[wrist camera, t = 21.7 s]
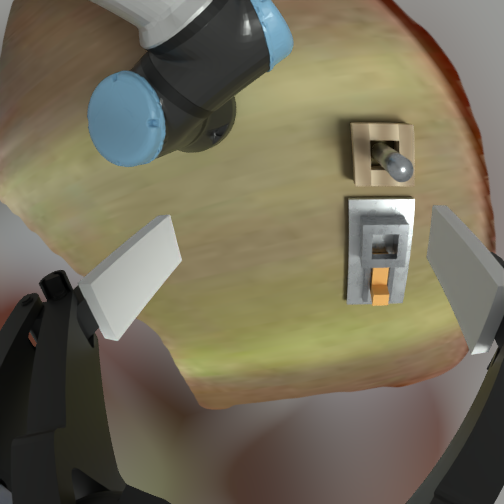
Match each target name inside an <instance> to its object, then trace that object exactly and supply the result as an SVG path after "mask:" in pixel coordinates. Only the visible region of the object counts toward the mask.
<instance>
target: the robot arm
mask: <svg viewBox="0 0 504 504" xmlns="http://www.w3.org/2000/svg"><path fill="white" fill-rule="evenodd" d="M89 1H91V2H93V3H95V4H97V5H99V6H101V7H103V8H105V9H107V10H108V11H110V12H112V13H114V14H116V15H117V16H119V17H121V18H123V19H124V20H126V21H128V22H130V23H131V24H133V25H135V26H136V27H137V28H138V30H139V40H140V46H142V47H143V48H144V49H146V50H147V51H148V52H147V53H146V54H145V55H144V56H143V57H142V58H141V59H140V60H139V61H138V62H137V63H136V64H135V65H134V67H133V68H132V69H131V70H130V71H120V72H118V73H115V74H112V75H110V76H108V77H106V78H105V79H104V80H102V81H101V82H100V83H99V84H98V86H97V87H96V89H95V90H94V92H93V94H92V96H91V99H90V102H89V106H88V114H87V118H88V121H89V126H88V129H89V133H90V136H91V139H92V141H93V143H94V145H95V147H96V149H97V150H98V151H99V153H100V154H101V155H102V156H103V157H104V158H105V159H106V160H108V161H109V162H111V163H113V164H115V165H118V166H125V167H133V166H137V165H142V164H146V163H150V162H151V161H153V160H154V159H156V158H159V157H161V156H163V155H166V154H168V153H171V152H173V151H176V150H179V151H182V152H200V151H204V150H207V149H209V148H211V147H214V146H215V145H217V144H218V143H220V142H221V141H222V140H223V139H224V138H225V137H226V136H227V135H228V133H229V132H230V130H231V128H232V126H233V124H234V121H235V117H236V102H235V97H234V96H235V95H236V94H237V93H239V92H240V91H241V90H243V89H244V88H245V87H246V86H248V85H249V84H250V83H252V82H253V81H254V80H256V79H257V78H259V77H260V76H261V75H263V74H264V73H265V72H269V71H271V70H272V69H273V67H274V66H275V65H276V64H277V63H279V62H280V61H281V60H283V59H284V58H285V57H287V56H288V55H289V54H290V53H291V51H292V48H293V43H294V42H293V37H292V34H291V32H290V29H289V27H288V25H287V24H286V22H285V20H284V18H283V17H282V15H281V14H280V12H279V11H278V9H277V8H276V6H275V5H274V4H273V2H272V1H271V0H89ZM427 259H428V261H429V263H430V265H431V267H432V269H433V270H434V272H435V274H436V276H437V278H438V280H439V282H440V284H441V286H442V288H443V290H444V292H445V294H446V296H447V298H448V301H449V303H450V305H451V307H452V309H453V311H454V314H455V316H456V318H457V320H458V323H459V325H460V327H461V330H462V332H463V335H464V337H465V340H466V342H467V345H468V347H469V350H470V353H471V354H478V353H484V352H488V351H489V349H490V347H491V345H492V343H493V341H494V339H495V340H496V343H497V345H498V348H497V350H496V352H495V354H494V356H493V358H492V360H491V362H490V364H489V366H488V367H487V370H488V372H487V374H486V376H485V379H484V381H483V383H482V385H481V387H480V390H479V392H478V394H477V396H476V398H475V400H474V402H473V404H472V406H471V408H470V410H469V412H468V413H467V415H466V417H465V419H464V421H463V423H462V424H461V426H460V428H459V430H458V431H457V433H456V435H455V436H454V438H453V440H452V441H451V443H450V444H449V446H448V448H447V449H446V451H445V453H444V454H443V455H442V457H441V458H440V460H439V461H438V463H437V464H436V466H435V467H434V468H433V470H432V471H431V472H430V474H429V475H428V476H427V478H426V479H425V480H424V482H423V483H422V484H421V485H420V487H419V488H418V489H417V490H416V492H415V493H414V494H413V496H412V497H411V498H410V499H409V500H408V501H407V503H406V504H494V502H495V501H496V499H497V497H498V495H499V493H500V491H501V490H502V488H503V486H504V261H503V260H502V259H501V258H500V257H499V256H497V255H496V254H494V253H493V252H489V250H488V249H487V248H486V247H485V246H484V245H483V244H482V242H481V241H480V240H479V239H478V238H477V237H476V236H475V235H474V234H473V232H472V231H471V230H470V229H469V228H468V227H467V226H466V225H465V224H464V223H463V222H462V221H461V220H460V219H459V218H458V217H457V216H456V215H455V214H454V213H453V212H452V211H451V210H450V209H449V208H448V207H447V206H438V205H433V208H432V219H431V228H430V236H429V244H428V251H427ZM181 261H182V259H181V255H180V251H179V248H178V244H177V240H176V236H175V232H174V228H173V224H172V220H171V216H170V215H160V216H157V217H156V218H155V219H153V220H152V221H151V222H149V223H148V224H147V225H146V226H144V227H143V228H142V229H141V230H139V231H138V232H137V233H136V234H134V235H133V236H132V237H131V238H129V239H128V240H127V241H126V242H125V243H123V244H122V245H121V246H120V247H119V248H117V249H116V250H115V251H114V252H113V253H111V254H110V255H109V256H108V257H107V258H106V259H104V260H103V261H102V262H101V263H100V264H99V265H98V266H96V267H95V268H94V269H93V270H92V271H91V272H90V273H88V274H87V275H86V276H85V277H84V278H83V279H82V280H81V281H80V282H79V283H78V286H77V287H76V288H75V289H74V290H73V288H72V286H71V284H70V282H69V279H68V277H67V275H66V273H65V271H64V270H58V271H54V272H52V273H50V274H48V275H47V276H45V277H44V278H43V279H42V280H41V281H40V283H39V285H40V287H41V289H42V291H43V293H44V295H45V297H46V299H47V302H42V301H41V300H40V297H39V295H38V294H37V293H32V294H27V295H26V296H24V297H23V298H22V299H21V300H20V301H19V302H18V303H17V305H16V306H15V308H14V310H13V311H12V313H11V314H10V316H9V317H8V319H7V321H6V322H5V324H4V325H3V327H2V329H1V331H0V504H171V503H169V502H168V501H166V500H164V499H162V498H159V497H156V496H154V495H151V494H149V493H146V492H144V491H141V490H139V489H136V488H134V487H132V486H129V485H127V484H126V483H125V482H124V480H123V479H122V477H121V475H120V474H119V471H118V468H117V464H116V460H115V456H114V451H113V447H112V442H111V437H110V432H109V427H108V421H107V415H106V409H105V402H104V395H103V388H102V380H101V370H100V359H99V347H98V338H97V336H96V334H95V331H96V330H97V329H98V328H100V330H101V332H102V334H103V336H104V338H106V339H111V340H116V341H118V340H119V339H120V338H121V336H122V335H123V334H124V332H125V331H126V330H127V328H128V327H129V326H130V325H131V323H132V322H133V321H134V319H135V318H136V317H137V316H138V314H139V313H140V312H141V310H142V309H143V308H144V307H145V305H146V304H147V303H148V302H149V300H150V299H151V298H152V297H153V295H154V294H155V293H156V292H157V290H158V289H159V288H160V287H161V285H162V284H163V283H164V282H165V280H166V279H167V278H168V277H169V276H170V274H171V273H172V272H173V271H174V269H175V268H176V267H177V266H178V265H179V263H180V262H181ZM29 332H30V333H31V335H32V336H33V338H34V340H35V341H36V343H37V344H36V347H34V346H33V345H32V343H31V342H30V340H29V338H28V335H29Z"/></svg>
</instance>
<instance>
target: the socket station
mask: <svg viewBox="0 0 504 504" xmlns="http://www.w3.org/2000/svg"><path fill="white" fill-rule="evenodd" d="M348 207H349V252H348V284H347V304H372V300H371V294H370V282H371V270H372V268H389V271H388V279H387V287H388V291H389V301H388V303H403V297H404V292H405V286H406V280H407V273H408V266H409V259H410V251H411V242H412V233H413V221H414V208H415V199H414V198H413V197H358V198H348ZM373 253H388V254H373Z"/></svg>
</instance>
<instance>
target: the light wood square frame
mask: <svg viewBox="0 0 504 504" xmlns="http://www.w3.org/2000/svg"><path fill="white" fill-rule="evenodd" d="M350 129H351V142H352V158H353V181H354V183H355V186H414V173H415V149H414V125H412V124H407V123H375V122H352V123H350ZM370 140H394V150H395V151H397V152H398V153H400V154H401V155H403V156H404V157H406V158H407V159H409V160H410V161H411V163H412V165H413V169H414V171H413V175H412V177H411V178H410V179H409V180H408V181H406V182H398V181H396V180H394V179H393V178H392V177H391V176H390V174H389V173H388V172H387V171H386V170H385V169H384V168H383V167H382V166H371V153H370Z"/></svg>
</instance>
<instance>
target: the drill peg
mask: <svg viewBox="0 0 504 504" xmlns="http://www.w3.org/2000/svg"><path fill="white" fill-rule="evenodd" d="M372 155H373V157H374V158H375V159H376V160H377V161H378V163H379V164H380V165H381V166H382V167H383V168H384V169H385V170H386V171H387V172H388V173H389V174H390V176H391V177H392V178H393V179H394V180H396V181H398V182H406V181H408V180H409V179H410V178H411V177H412V175H413V171H414V169H413V165H412V163H411V161H410V160H409V159H407V158H406V157H404V156H403V155H401V154H400V153H398V152H397V151H395V150H394V149H392V148H391V147H389V146H388V145H386V144H384V143H381V142H379V143H376V144H375V145H374V146H373V147H372Z"/></svg>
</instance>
